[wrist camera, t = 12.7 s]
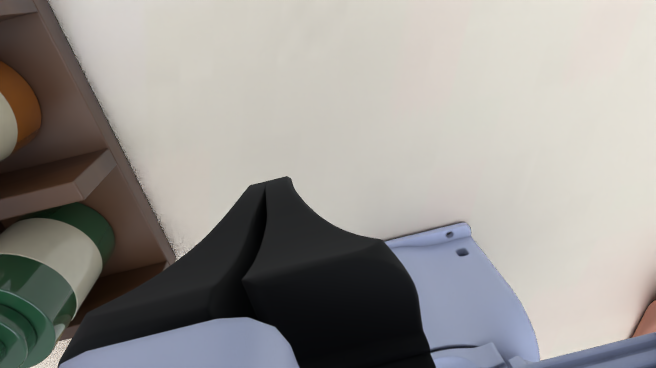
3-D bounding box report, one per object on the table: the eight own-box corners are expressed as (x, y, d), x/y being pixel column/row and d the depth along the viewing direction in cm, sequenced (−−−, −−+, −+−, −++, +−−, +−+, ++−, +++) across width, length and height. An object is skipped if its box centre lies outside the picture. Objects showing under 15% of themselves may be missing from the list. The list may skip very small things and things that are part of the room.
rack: (43, -8, 18) (-116, -6, 11) (176, 258, 25) (136, 366, 18) (-125, 32, 18) (-399, 62, 11) (57, 287, 25) (-31, 407, 18)
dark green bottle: (90, 188, 21) (-57, 345, 12) (131, 260, 24) (34, 437, 14) (0, 210, 21) (-217, 384, 12) (50, 279, 24) (-100, 470, 14)
